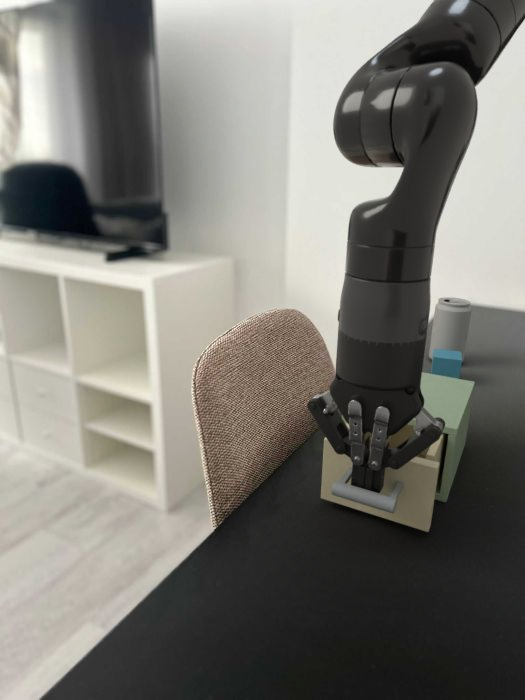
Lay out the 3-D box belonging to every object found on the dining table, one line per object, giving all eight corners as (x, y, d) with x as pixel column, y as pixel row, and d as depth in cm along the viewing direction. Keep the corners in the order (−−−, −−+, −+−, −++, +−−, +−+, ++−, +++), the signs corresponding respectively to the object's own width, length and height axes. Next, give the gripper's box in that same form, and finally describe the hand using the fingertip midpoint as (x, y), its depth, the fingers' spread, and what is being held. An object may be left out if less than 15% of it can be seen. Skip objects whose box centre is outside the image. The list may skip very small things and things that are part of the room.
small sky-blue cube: (457, 375, 92) (461, 351, 90) (458, 385, 87) (462, 360, 86) (430, 372, 93) (433, 348, 91) (430, 381, 89) (433, 356, 87)
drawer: (418, 561, 47) (427, 493, 44) (303, 522, 52) (306, 459, 49) (451, 467, 62) (459, 412, 59) (359, 443, 67) (363, 392, 64)
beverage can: (432, 353, 103) (440, 294, 99) (466, 359, 100) (475, 299, 96) (424, 362, 98) (432, 301, 94) (459, 369, 94) (469, 306, 90)
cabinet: (446, 502, 56) (457, 429, 53) (337, 471, 62) (342, 403, 59) (465, 444, 69) (475, 381, 66) (373, 422, 74) (378, 364, 71)
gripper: (469, 326, 45) (442, 495, 50) (327, 306, 50) (318, 459, 56) (455, 351, 38) (426, 541, 44) (294, 325, 44) (288, 495, 50)
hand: (365, 495), depth 50 cm, fingers closed
